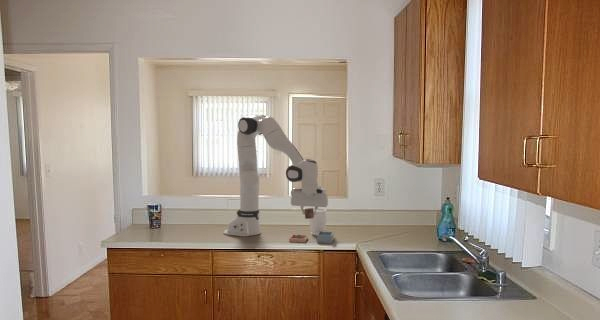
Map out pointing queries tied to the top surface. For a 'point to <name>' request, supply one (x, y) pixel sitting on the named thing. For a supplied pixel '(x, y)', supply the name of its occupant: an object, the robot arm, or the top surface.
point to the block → (309, 213)
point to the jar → (318, 221)
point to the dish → (294, 239)
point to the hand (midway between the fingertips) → (309, 214)
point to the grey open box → (325, 237)
